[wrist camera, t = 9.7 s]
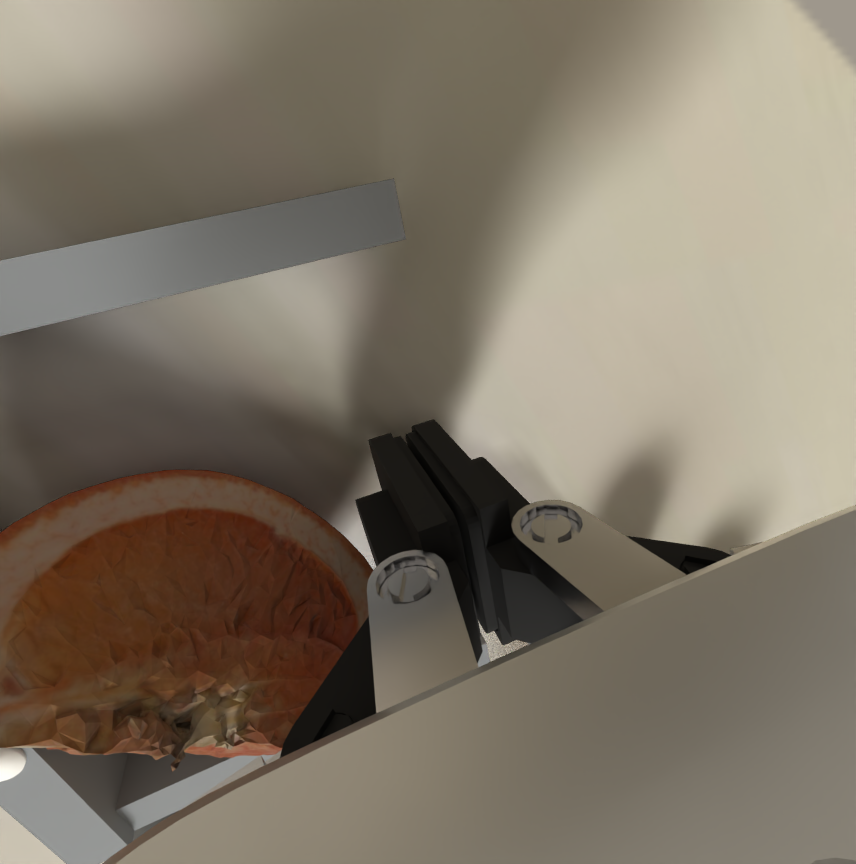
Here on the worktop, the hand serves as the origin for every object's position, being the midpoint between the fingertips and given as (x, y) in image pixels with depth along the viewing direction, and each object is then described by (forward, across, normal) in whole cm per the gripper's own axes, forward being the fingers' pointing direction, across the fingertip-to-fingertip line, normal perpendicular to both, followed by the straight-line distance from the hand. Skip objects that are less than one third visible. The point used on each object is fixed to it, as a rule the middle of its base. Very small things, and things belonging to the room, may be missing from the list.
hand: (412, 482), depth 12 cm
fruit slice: (+1, +5, +1) cm, 6 cm away
